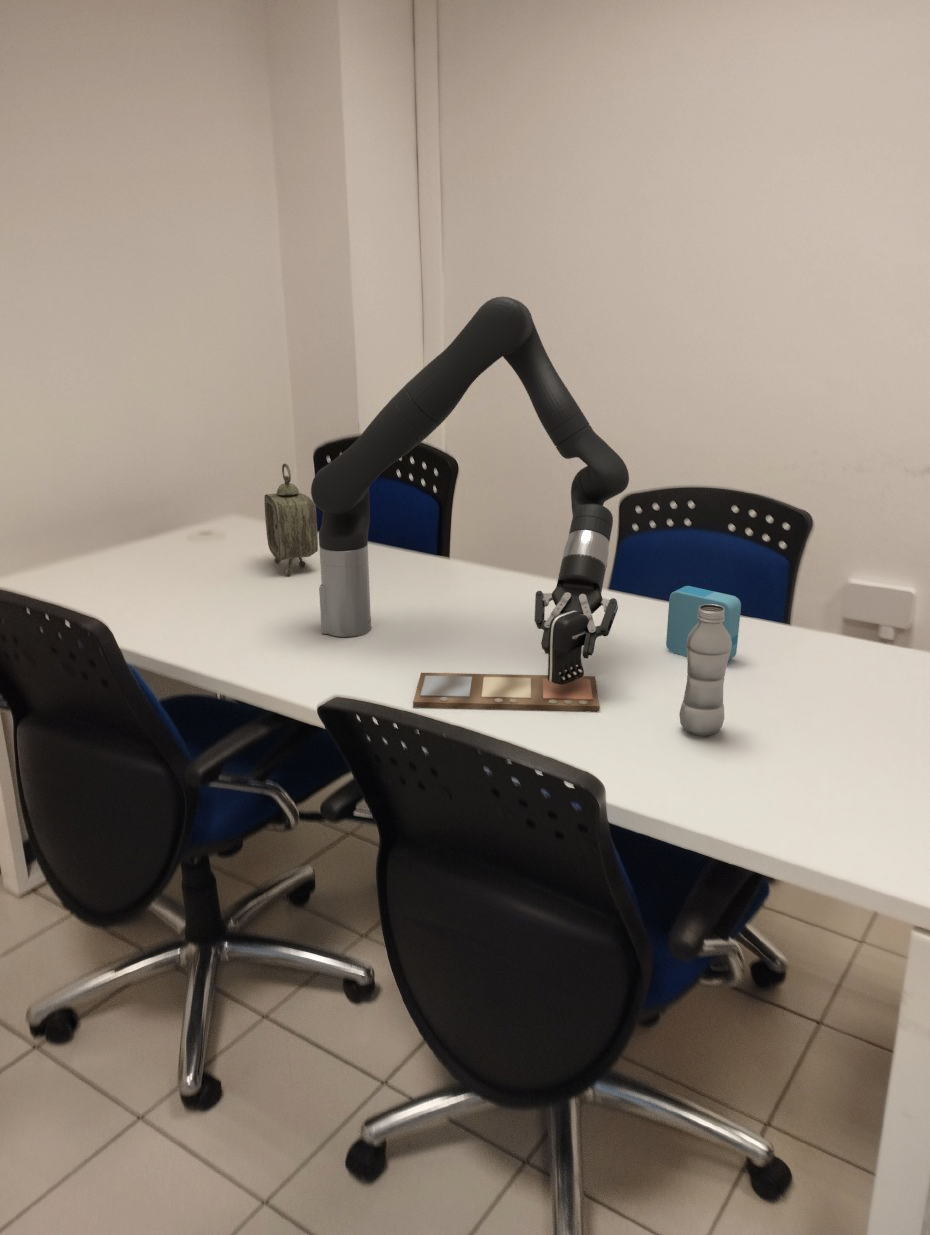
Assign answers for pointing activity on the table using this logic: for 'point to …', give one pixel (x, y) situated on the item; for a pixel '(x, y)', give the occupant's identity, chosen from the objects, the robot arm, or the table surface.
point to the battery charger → (566, 647)
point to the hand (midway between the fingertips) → (566, 654)
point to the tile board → (505, 692)
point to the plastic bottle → (706, 672)
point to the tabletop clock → (290, 523)
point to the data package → (685, 616)
